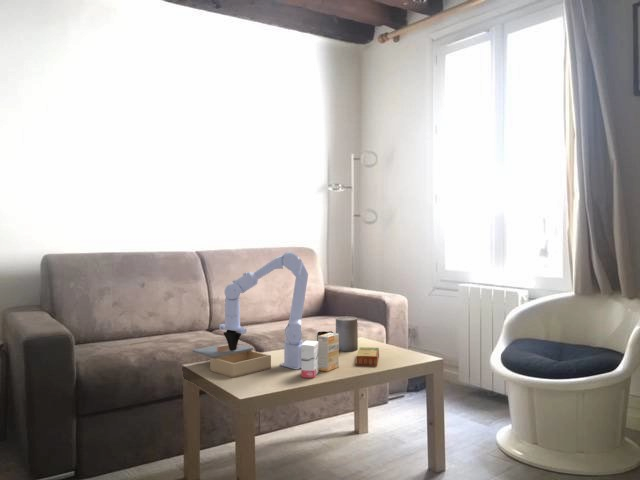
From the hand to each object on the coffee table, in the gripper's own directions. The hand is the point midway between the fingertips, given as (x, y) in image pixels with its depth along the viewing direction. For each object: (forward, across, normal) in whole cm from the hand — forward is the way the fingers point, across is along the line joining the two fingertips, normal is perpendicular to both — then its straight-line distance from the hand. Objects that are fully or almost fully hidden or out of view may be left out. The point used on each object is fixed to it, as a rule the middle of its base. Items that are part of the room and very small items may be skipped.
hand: (232, 350), depth 214 cm
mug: (+7, +18, +33) cm, 38 cm away
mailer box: (+6, +5, 0) cm, 8 cm away
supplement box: (+7, +28, +24) cm, 37 cm away
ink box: (+7, +29, +13) cm, 32 cm away
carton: (+7, +31, +44) cm, 54 cm away
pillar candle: (+7, +11, +54) cm, 55 cm away
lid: (+1, -6, 0) cm, 6 cm away
